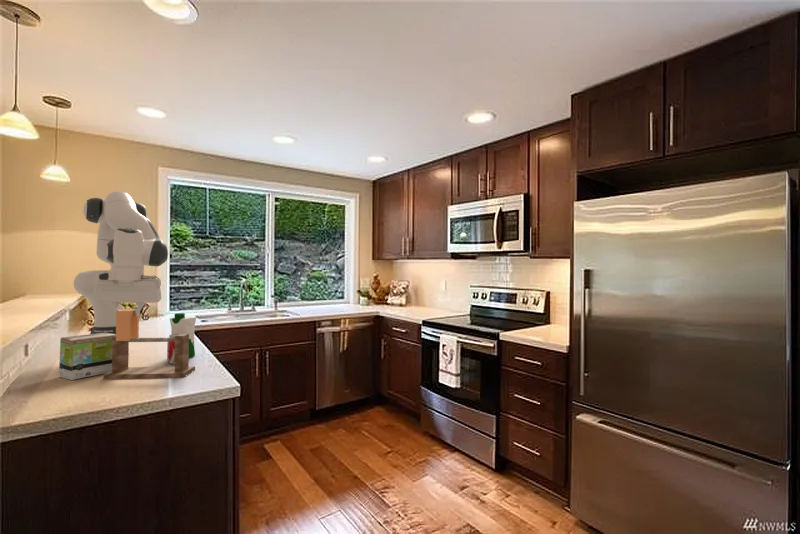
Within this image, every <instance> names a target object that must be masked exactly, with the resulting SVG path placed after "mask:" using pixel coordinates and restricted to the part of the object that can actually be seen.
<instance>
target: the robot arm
mask: <svg viewBox="0 0 800 534" xmlns="http://www.w3.org/2000/svg"><path fill="white" fill-rule="evenodd" d="M82 212H83V214H84V216H85V219H86V220H87V221H88V222H90V223H94V224H99V226H98V231H97V239H96V256H97V258H98V259H99V260H100V261H103V262H104V263H107V264H109V265H110V270H107V269H106V270H101V269H100V270H96V269H95V270H93V269H92V270H87V271H82V272H81V271H80V272H79V273H78V274H76V276H75V277H74V279H73V287H74V289H75V291H76V292H77V293H78V294H80V295H81V296H83V297H84V298H85V299H87V301H89V303H90V305H91V307H92V309H93V316H94V317H93V318H94V320H93V321H94V324H93V325H94V326H92V327H90V328H88V329H87V332H89V334H97V333H111V334H116V311H119V310H124V309H125V307H124V306H123V305H122V304H121V303H135V304H136V308H135V309H136V310H134V311H133V316H139V317H140V315H141V310H142V308H143V307H144V305H145V303H154V304H155V303H159V302H161V300H162V291H161V290H162V289H161V286H162V280H161V278H160V277H158V276H156V275H145V266H147V267H148V266H149V267H160V266H162V265H163V264H164V263H166V262H167V261H168V256H169V250H168V247H167V244H166V243H165V242H164V241H163V239H162V237H161V236H160V234H158V232H157V230H156V228H155V226H154V225H153V223H152V221H151V220H150V219H149V218H148V211H147V208H146V206H145V205H144V204H143V203H140V202H137V201H134V199H133V198H132V197H131V195H130V194H128V193H127V192H124V191H121V190H120V191H119V190H118V191H117V190H116V191H111V192H110V193H109V194H108V195H107V196H106V197H105V198H101V197H100V198H99V197H92V198H89V199H86V202H85V203H84V205H83V210H82Z"/></svg>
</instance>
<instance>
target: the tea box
mask: <svg viewBox="0 0 800 534" xmlns="http://www.w3.org/2000/svg"><path fill="white" fill-rule="evenodd" d="M113 336H116V334H111V333H97V334H90V333H89V334H81V335H80V334H79V335H73V336H72V335H71V336H66V337H65V336H64V337H60V340H59V341H60V343H59V344H60V345H59V364H58V365H59V367H58V368H59V369H58V376H59V377H61V378H62V379H66V380H69V381H75V380H78V379H82V378H88V377H94V376H98V375H99V376H100V375H104V374H106V373H108V372H111V371H112V337H113Z"/></svg>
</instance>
